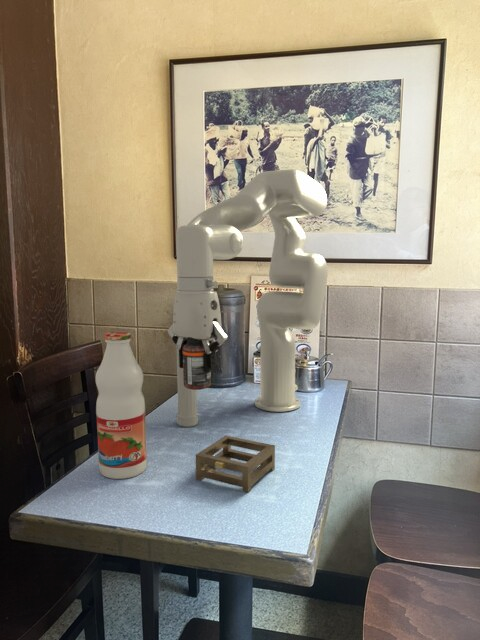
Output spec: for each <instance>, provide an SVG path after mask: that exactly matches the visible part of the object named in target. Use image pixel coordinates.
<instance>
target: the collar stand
mask: <svg viewBox="0 0 480 640" xmlns="http://www.w3.org/2000/svg"><path fill="white" fill-rule="evenodd" d="M231 446H232V447H238V448H242V449H247V450H251V451H256V452H257V454H255V453H251V452H245V451H242V450H236V449H232V448H231ZM237 460H238V461H237ZM275 463H276V446H275V445H274V444H271V443H270V444H269V443H266V442H265V443H264V442H260V441H255V440H252V439H251V440H250V439H245V438H240V437H236V436H230V435H224V436H222V437H221V438H219V439H218V440H217V441H215V442H213V443H212V444H210V445H208V446H207V447H205V448H204V449H202V450H201V451H200V452H198V453H196V454H195V480H196V481H203V480H204V479H207V480H212V481H214V482H215V481H216V482H220V483H222V484H223V483H224V484H228V485H230V486H231V485H232V486H235V487H239V488H242V491H241V492H243V493H248V494H249V493H250V492H251V491H252V486H253V485H255V483H256V482H257V481H259V480H260V479H261V478H262V477H263V476H265V475H266V474H267V473H268V472H273V471H275V469H276V464H275ZM214 468H215V469H220V470H228V471H232V472H236V473H241V474H242V475H241V476H240V475H236V474H231V473H228V472H224V471H220V470H215V469H214Z"/></svg>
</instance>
